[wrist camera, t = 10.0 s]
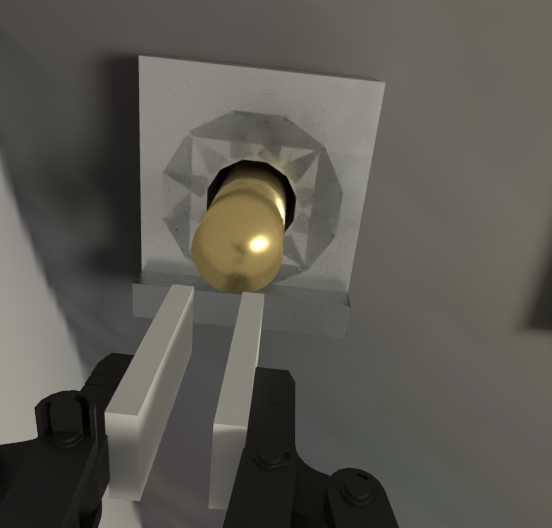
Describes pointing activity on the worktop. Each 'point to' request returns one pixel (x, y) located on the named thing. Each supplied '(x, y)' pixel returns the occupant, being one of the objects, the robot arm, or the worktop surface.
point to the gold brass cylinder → (243, 229)
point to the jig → (257, 147)
